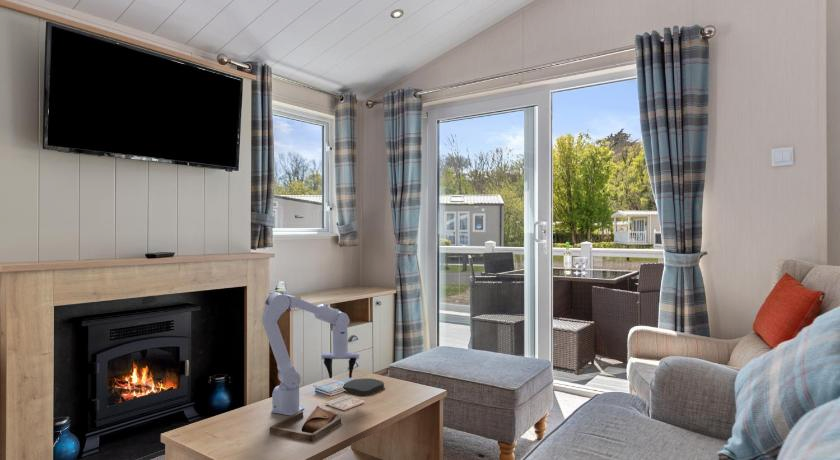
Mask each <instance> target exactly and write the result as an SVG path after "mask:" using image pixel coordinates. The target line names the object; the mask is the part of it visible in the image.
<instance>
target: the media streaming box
mask: <svg viewBox="0 0 840 460" xmlns="http://www.w3.org/2000/svg"><path fill="white" fill-rule="evenodd" d="M343 384H344V386H343V385H342V386H343V388H344V389H345V390H346V391H347V392H348V393H347V394H351V393H352V394H351V395H355V396H362V397H363V396H364V397H365V396H370V395H373V394H375V393H378V392H381V391H382V390H384V389H385V383H384V382H383V381H382V380H379V379H375V378H368V377H367V378H366V377H365V378H356V379H352V380H349V381H346V382H345V383H343Z"/></svg>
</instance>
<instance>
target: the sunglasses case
mask: <svg viewBox="0 0 840 460" xmlns="http://www.w3.org/2000/svg"><path fill="white" fill-rule="evenodd" d="M337 415H338V414H337V413H335V412H332V411H329V410H326V409H324V408H322V407H321V406H319V405H317V406H316V407H315V409H314V410H313V411H312V412H311V413H310V415H309V416H308V417H307V418H306V420H305V422H304V424H303V425H302V426H301V432H307V433H314V432H315V431H317V430H319V429H320V428H322V427H324V426H325V425H327V424H329V423H330V422H332V421H333V420H335V417H337Z"/></svg>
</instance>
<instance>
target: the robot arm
mask: <svg viewBox="0 0 840 460" xmlns="http://www.w3.org/2000/svg"><path fill="white" fill-rule="evenodd" d="M295 308H297V309H299V310H300V309H301V310H303V311H305V312H309V313H312V314H313V315H314V317H315V319H317V320H320V321H322V322H325V323H328V324H332V352H328V353H325V352H324V353H321V357H320V358H321V359H320V360H323V364H324V365H325V366H324V367H325V368H326V370H327V372H328V377H329V379H332V378H333V360H344V359H345V360H348V378H349V379H352V376H353V371H354V369H355V367H354V366H355V364H356V362H357V360H360V352H349V351H348V350H349V349H348V348H349V347H348V346H349V345H348V341H349V340H348V338H349V337H348V326H349V324H350V321H351V319H350V318H349V315H348V314H347V313H346V312H342V311H341V310H340V309H339V308H333V307H330V306H329V304H327V303H324V304H323V303H319V304H318V305H315V304H313V303H311V302H309V301H307V300H304V299H302V298H300V297H297V296H294V295H290V294H287V293H286V294H285V293H283V294H282V293H281V292H278V291H273V292H271V293H270V294H269V295H268V296H267V298H266V299H265V300H264V308H263V311H262V317H261V322H262V326H263V327H264V331H265V334H266V337H267V339H268V342H269V344H270V347H271V351H272V353H273V357H274V359H275V361H276V365H277V366H276V368H277V370H278V372H277V379H278V381H280V383H279V385H277V386H275V387H274V388H273V391H272V394H271V395H272V396H271V397H272V401H271V402H272V404H271V406H272V410H270V412H271V413H274V414H281V415H286V416H292V415H294V414H296V413H298V412H299V411H303V410H304V409H305V406H300V383H301V382H302V381H301V379H302V377H301V375H300V374H299V372H297V370H296V369H295V366H294V365H293V362H292V360H291V358H290V355H289V352H288V349H287V346H286V343H285V341H284V338H283V335H282V333H281V329H280V327H279V324H278V320H279V319H280V317H281V315H282V314H284V313H285V312H286V311H287V310H288V309H290V310H292V309H295Z"/></svg>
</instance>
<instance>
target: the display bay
mask: <svg viewBox="0 0 840 460" xmlns="http://www.w3.org/2000/svg"><path fill="white" fill-rule="evenodd" d="M302 418H304V411H303V410H301V411H299V412H297V413H295V414H293V415H289V417H286V418H285V419H282V420H281V421H279V422H277V423H275V424H273V425H272V426H269V434H271V435H276V436H281V437H286V438H292V439H296V440H302V441H308V442H311V443H313V442H316V441H317V440H318V439H320V438H321V437H323V436H324V435H326V434H328V433H329V432H331V431H333V430H334V429H337V427H338V426H341V424H342V417H336V419H335V418H334V419H333V420H332V422H330V423H329V424H327V425H325V426H324V427H322V428H320V429H319V430H317V431H315V432H314V433H307V432H302V430H296V429H289V428H286V427H288V426H289V425H292V424H294V423H295V422H297V421H299V420H301V419H302Z"/></svg>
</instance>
